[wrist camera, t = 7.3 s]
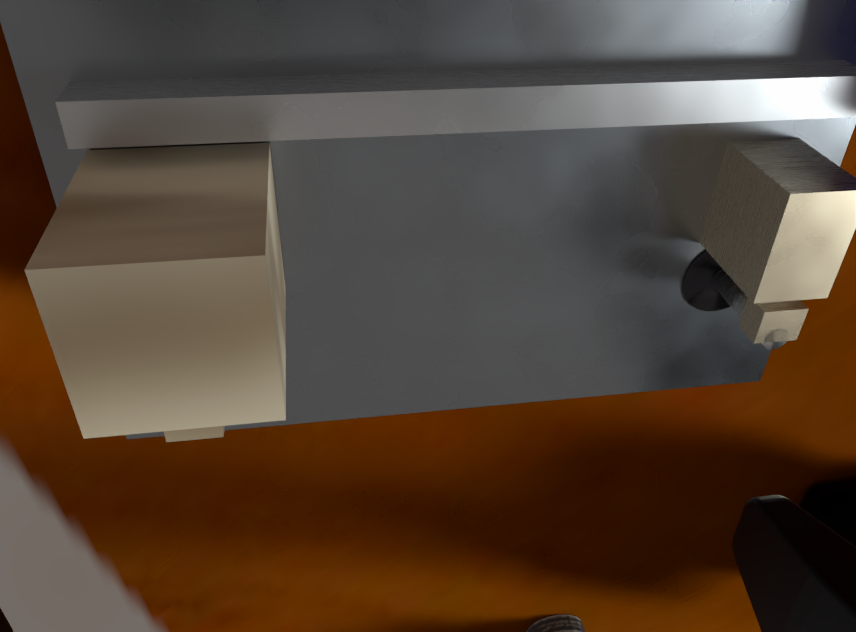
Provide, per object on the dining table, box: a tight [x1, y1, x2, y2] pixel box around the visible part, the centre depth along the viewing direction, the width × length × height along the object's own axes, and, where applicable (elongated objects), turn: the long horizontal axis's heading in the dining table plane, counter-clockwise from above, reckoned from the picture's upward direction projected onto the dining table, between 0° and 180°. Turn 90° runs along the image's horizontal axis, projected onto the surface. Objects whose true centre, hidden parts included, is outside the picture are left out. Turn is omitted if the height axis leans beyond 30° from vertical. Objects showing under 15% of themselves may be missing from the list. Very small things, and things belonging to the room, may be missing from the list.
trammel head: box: [25, 143, 286, 442], centre depth 16 cm, size 5×4×5 cm
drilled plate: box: [0, 0, 856, 439], centre depth 18 cm, size 14×20×4 cm
